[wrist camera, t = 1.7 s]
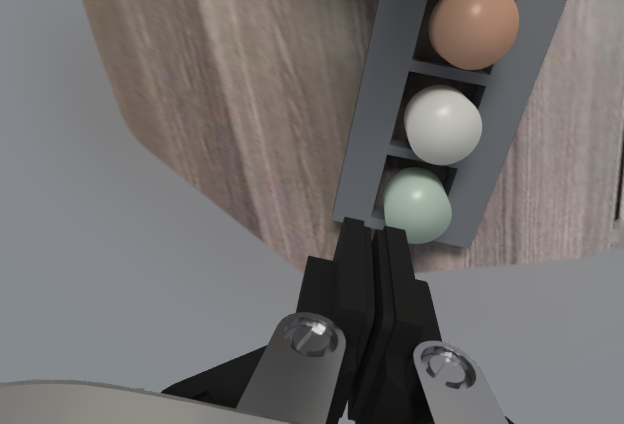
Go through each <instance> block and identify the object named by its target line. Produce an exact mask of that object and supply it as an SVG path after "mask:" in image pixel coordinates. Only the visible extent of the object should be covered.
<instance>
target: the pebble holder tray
mask: <svg viewBox="0 0 624 424" xmlns="http://www.w3.org/2000/svg"><path fill="white" fill-rule="evenodd" d="M514 1H515V3H516V6H517V9H518V13H519V28H518V32H517V36H516V38H515V41H514V43H513V44H512V46H511V48H510V49H509V50H508V52H507V53H506V54H505V55H504V56H503V57H502V58H501V59H500V60H498V61H497V62H495V63H494V64H492V65H490V66H488V67H485V68H484V69H483V71H480V70H466V69H461V68H458V67H456V66H454V65H449V64H444V63H439V62H434V61H429V60H424V59H419V58H413V54H414V50H415V46H416V42H417V38H418V34H419V31H420V27H421V23H422V19H423V15H424V11H425V8H426V4H427V0H379V1H378V5H377V10H376V15H375V19H374V24H373V28H372V33H371V38H370V42H369V47H368V52H367V56H366V61H365V65H364V70H363V75H362V79H361V84H360V88H359V93H358V98H357V102H356V107H355V112H354V116H353V121H352V125H351V130H350V135H349V139H348V144H347V149H346V153H345V158H344V162H343V167H342V172H341V176H340V181H339V186H338V190H337V195H336V199H335V204H334V209H333V215H332V220H333V221H338V222H342V223H343V220H344V217H349V218H354V219H358V220H363V221H364V224H365V226H366V227H370V228H372V229H379V230H383V228H384V226H387V225H386V222H385V213H384V209H380V208H375V207H373V206H374V203H375V199H376V195H377V191H378V187H379V183H380V180H381V176H382V172H383V168H384V164H385V161H386V157H387V155H392V156H397V157H402V158H407V159H412V160H417V161H422V162H425V161H424V160H422V159H421V158H419V157H418V156H417V155H416V154H415V153H414V151H413V150H412V148H411V146H410V143H409V142H408V141H403V140H398V139H393V138H392V134H393V130H394V126H395V122H396V118H397V115H398V111H399V107H400V103H401V99H402V96H403V92H404V88H405V84H406V80H407V76H408V73H409V71H411V72H416V73H421V74H427V75H432V76H437V77H442V78H447V79H452V80H457V81H462V82H467V83H472V84H478V87H477V90H476V93H475V96H474V99H473V102H472V104H473V105H474V106H475V107H476V108H477V110H478V112H479V114H480V116H481V120H482V133H481V137H480V140H479V142H478V144H477V145H476V147H475V148H474V150H473V151H472V152H471V153H470V154H469V155H468V156H466V157H465V158H464V159H462V160H460V161H458V162H456V163H453V164H448V165H442V166H447V167H451V168H450V171H449V174H448V177H447V180H446V183H445V185H444V190H445V193H446V195H447V198H448V200H449V202H450V205H451V209H452V217H451V221H450V224H449V226H448V228H447V229H446V230H445V232H444V233H443V234H442V235H441V236H439V237H438V238H436V239H435V240H433V241H435V242H440V243H445V244H450V245H454V246H459V247H464V248H469V249H470V247H471V244H472V242H473V239H474V237H475V234H476V232H477V229H478V226H479V224H480V221H481V219H482V216H483V214H484V211H485V208H486V206H487V203H488V201H489V198H490V196H491V193H492V191H493V188H494V185H495V183H496V180H497V178H498V175H499V173H500V170H501V168H502V165H503V162H504V160H505V157H506V155H507V152H508V150H509V147H510V144H511V142H512V139H513V137H514V134H515V132H516V129H517V127H518V124H519V121H520V119H521V116H522V114H523V111H524V109H525V106H526V104H527V101H528V98H529V96H530V93H531V91H532V88H533V86H534V83H535V80H536V78H537V75H538V73H539V70H540V68H541V65H542V63H543V60H544V57H545V55H546V52H547V50H548V47H549V45H550V42H551V40H552V37H553V34H554V32H555V29H556V27H557V24H558V22H559V19H560V16H561V14H562V11H563V9H564V6H565V4H566V1H567V0H514ZM427 163H428V162H427Z"/></svg>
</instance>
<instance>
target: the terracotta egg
mask: <svg viewBox="0 0 624 424" xmlns="http://www.w3.org/2000/svg"><path fill="white" fill-rule="evenodd" d="M518 28H519V13H518V9H517V6H516V3H515V1H514V0H439V2H438V3H437V4H436V6H435V7H434V9H433V11H432V13H431V16H430V19H429V24H428V34H429V39H430V43H431V45H432V47H433V48H434V50H435V51H436V52H437V53H438V54H439V55H440V56H441V57H442V58H444V59H445V60H446V61H448V62H449V63H451V64H452V65H454V66H456V67H458V68H461V69H466V70H477V69H482V68H485V67H488V66H490V65H492V64H494V63H495V62H497V61H498V60H500V59H501V58H502V57H503V56H504V55H505V54H506V53H507V52H508V50H509V49H510V48H511V46H512V44H513V43H514V41H515V38H516V36H517V32H518Z"/></svg>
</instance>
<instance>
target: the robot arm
mask: <svg viewBox="0 0 624 424" xmlns="http://www.w3.org/2000/svg"><path fill="white" fill-rule="evenodd" d="M347 401H348V419H349V420H353V421H355V424H514V423H513V422H512V421H510V420H509V419H508V418H507V417H506V416H504V414H503V412H502V410H501V408H500V406H499V404H498V402H497V400H496V398H495V396H494V394H493V392H492V390H491V388H490V386H489V384H488V382H487V380H486V378H485V376H484V374H483V372H482V370H481V369H480V367H479V366H478V365H477V363H476V362H475V361H474V360H473V359H472V358H471V357H470V356H469V355H468V354H467V353H465V352H464V351H462V350H461V349H459V348H458V347H455V346H453V345H451V344H449V343H445V342H442V339H441V335H440V331H439V327H438V322H437V318H436V314H435V310H434V306H433V302H432V298H431V294H430V290H429V286H428V283H427V282H425V281H421V280H417V279H415V275H414V270H413V265H412V260H411V255H410V250H409V245H408V240H407V236H406V231H405V230H404V229H399V228H394V227H390V226H384V228H383V230H379V229H376V230H375V233H374V236H373V239H371V228H370V227H366V226H365V224H364V221H363V220H358V219H354V218H349V217H344V220H343V223H342V227H341V231H340V235H339V239H338V243H337V246H336V250H335V254H334V258H333V261H331V260H326V259H322V258H317V257H312V256H308V259H307V264H306V268H305V273H304V277H303V282H302V286H301V291H300V295H299V300H298V305H297V309H296V313H294V314H290V315H288V316H287V317H285V318H283V319H282V320H281V322H280V323H279V324H278V325H277V328H276V329H275V331H274V334H273V336H272V337H271V340H270V342H269V343H268V345H266V346H264V347H262V348H259V349H257V350H254V351H252V352H250V353H247V354H245V355H243V356H240V357H238V358H235V359H233V360H231V361H228V362H226V363H223V364H221V365H219V366H216V367H214V368H212V369H209V370H207V371H204V372H202V373H200V374H197V375H195V376H192V377H190V378H187V379H185V380H183V381H180V382H178V383H175V384H173V385H172V386H170V387H168V388H166V389H165V390H163V391H162V392H161V393H157V392H151V391H145V390H144V389H139V388H129V387H123V386H117V385H112V384H105V383H97V382H87V381H76V380H27V381H18V382H6V383H0V424H338V421H339V418H341V417H342V416H343V413H344V410H345V407H346V404H347Z"/></svg>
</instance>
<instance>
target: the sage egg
mask: <svg viewBox="0 0 624 424" xmlns="http://www.w3.org/2000/svg"><path fill="white" fill-rule="evenodd" d="M383 202H384V213H385V222H386V225H387V226H390V227H394V228H399V229H404V230H405V231H406V236H407V240H408V243H411V244H423V243H427V242H430V241H433V240H435V239H436V238H438V237H439V236H441V235H442V234H443V233H444V232H445V230H446V229H447V228H448V226H449V224H450V221H451V217H452V209H451V205H450V202H449V200H448V198H447V195H446V193H445V190H444V188H443V186H442V183H441V181H440V180H439V178H438V177H437V176H436V175H435V174H434V173H433V172H431V171H429V170H427V169H424V168H420V167H409V168H405V169H402V170H400V171H398V172H396V173H395V174H394V175H393V176H391V178H390V179H389V180H388V181H387V183H386V185H385V187H384V191H383Z"/></svg>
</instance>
